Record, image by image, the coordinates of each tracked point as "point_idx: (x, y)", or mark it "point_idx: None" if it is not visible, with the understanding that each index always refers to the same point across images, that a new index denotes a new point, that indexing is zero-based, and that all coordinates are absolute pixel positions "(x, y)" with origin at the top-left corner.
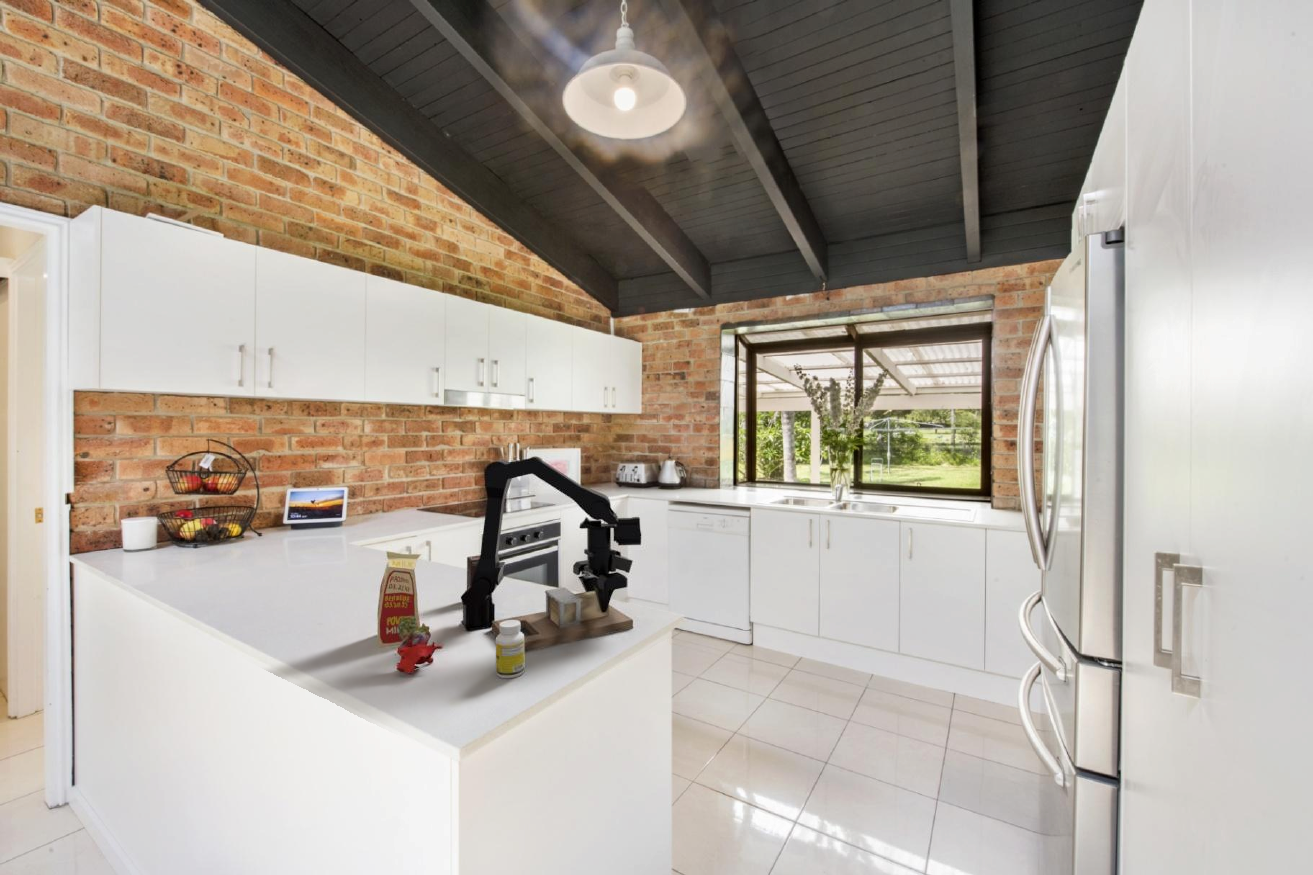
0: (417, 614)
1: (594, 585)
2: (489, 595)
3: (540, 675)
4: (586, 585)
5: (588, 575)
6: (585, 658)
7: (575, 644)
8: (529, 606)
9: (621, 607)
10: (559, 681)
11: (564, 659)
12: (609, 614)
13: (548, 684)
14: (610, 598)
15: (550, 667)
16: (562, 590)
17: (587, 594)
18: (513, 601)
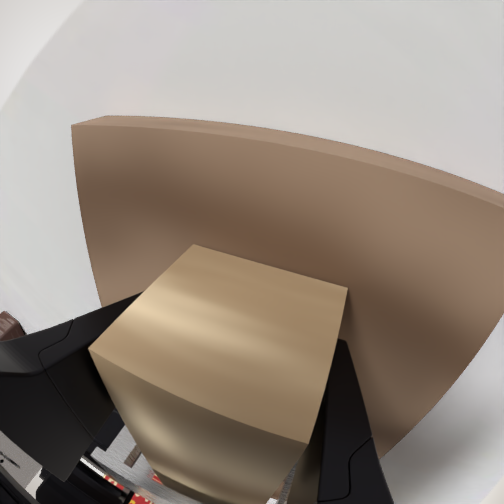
0: (152, 502)
1: (63, 399)
2: (13, 333)
3: (432, 501)
4: (83, 441)
5: (19, 472)
6: (479, 459)
7: (400, 443)
8: (43, 305)
9: (141, 5)
10: (476, 494)
11: (434, 477)
12: (329, 267)
13: (463, 501)
14: (375, 446)
15: (429, 492)
16: (133, 486)
17: (181, 458)
18: (19, 301)
